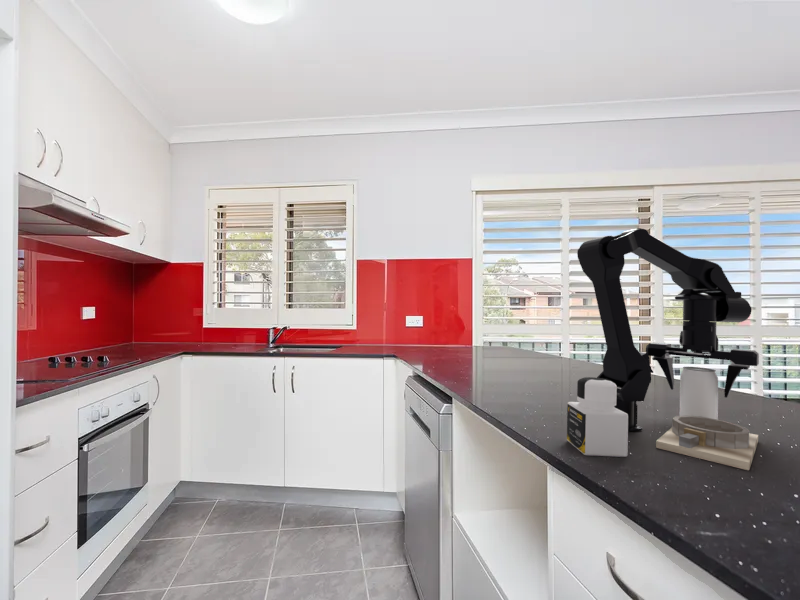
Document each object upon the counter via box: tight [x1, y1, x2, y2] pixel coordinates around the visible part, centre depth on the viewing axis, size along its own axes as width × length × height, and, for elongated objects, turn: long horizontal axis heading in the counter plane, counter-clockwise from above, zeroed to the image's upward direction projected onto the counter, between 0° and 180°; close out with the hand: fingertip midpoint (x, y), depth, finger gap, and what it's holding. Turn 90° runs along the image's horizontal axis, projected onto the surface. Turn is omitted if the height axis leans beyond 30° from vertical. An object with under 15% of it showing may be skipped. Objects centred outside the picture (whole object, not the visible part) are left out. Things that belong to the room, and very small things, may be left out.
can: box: [679, 366, 719, 420], centre depth 82 cm, size 6×6×12 cm
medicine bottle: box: [566, 376, 629, 458], centre depth 65 cm, size 7×7×12 cm
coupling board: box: [655, 415, 759, 471], centre depth 69 cm, size 20×12×4 cm, turn 133°
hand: (698, 393), depth 82 cm, fingers open, 9 cm apart
